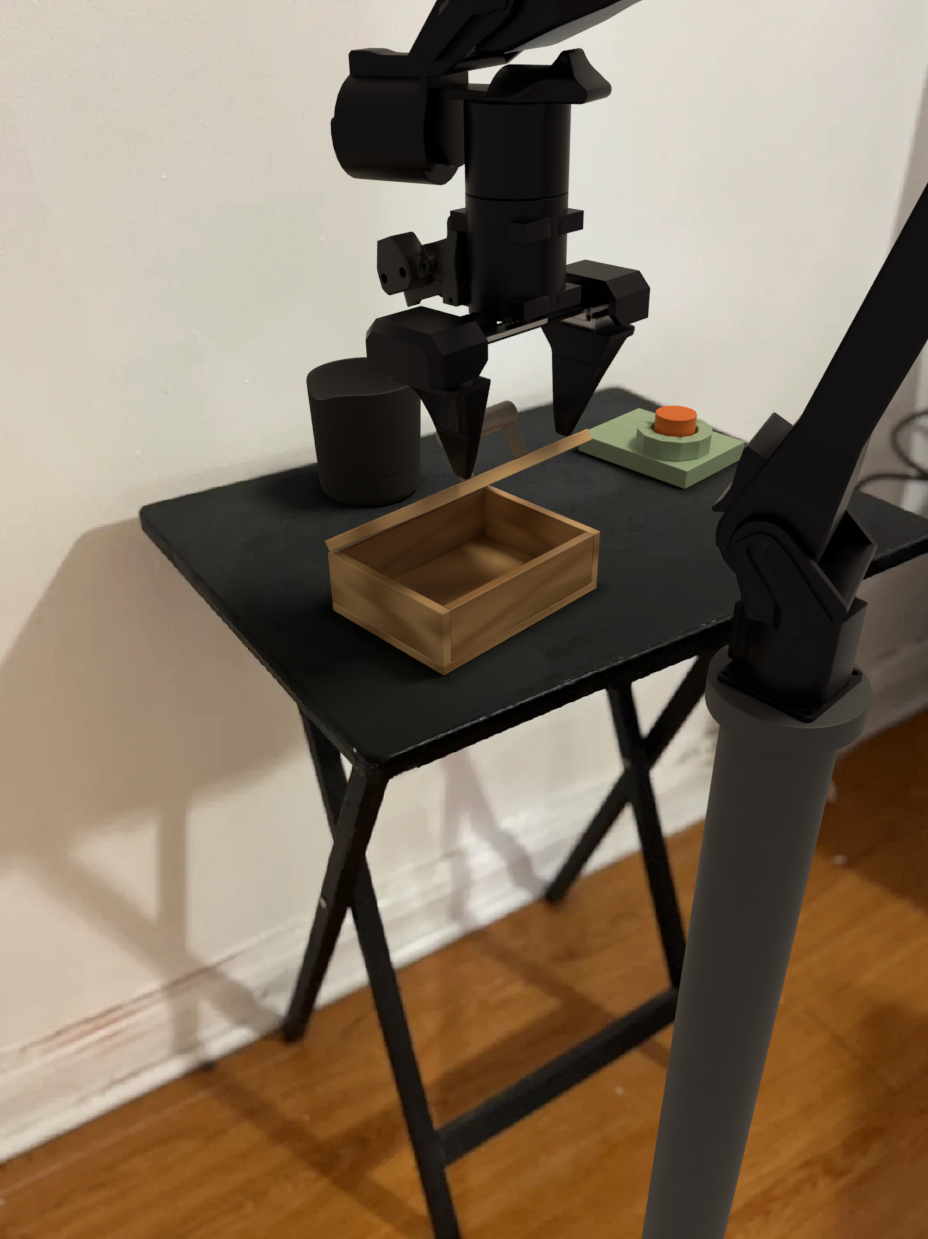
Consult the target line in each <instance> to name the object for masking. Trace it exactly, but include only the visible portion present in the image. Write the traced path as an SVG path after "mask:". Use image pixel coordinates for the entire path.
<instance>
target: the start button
mask: <svg viewBox="0 0 928 1239" xmlns="http://www.w3.org/2000/svg"><path fill="white" fill-rule="evenodd" d="M654 413H655V424H654V431H655V433H658V434H661V435H664V436H672V437H686V436H692V435H694V433H695V428H696V420H697V419H698V413H697V411H696V410H694V409H693V408H691V407H687V406H683V405H664V406H661V407H659V408H657V409H656V410H655V412H654Z"/></svg>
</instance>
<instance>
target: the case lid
mask: <svg viewBox="0 0 928 1239" xmlns="http://www.w3.org/2000/svg"><path fill="white" fill-rule="evenodd" d="M518 418H519V412H518V408H517V407H516V405H515V404H514V402H513V401H511V400H507V399H506V400H503V401H500V402H497V403H495V404H492V405H489V406H486V411H485V416H484V421H483V427H482V432H481V438H482V437H485V436H487V435H489V434H493V433H494V432H497V431H499V430H501V429H502V431H503V432H504V435H505V437H506V439H507V442H508V444H509V447H510V450H511V452H512V454H513V457H514V459H513V460H511V461H508V462H505V463H503V464H501V465H499V466H496V467H494V468H492V469H489V470H487V471H485V472H482V473H480V474H478V475H475V474H474V472H473V473H472V476H471V478H469V479H467V480H465V479H462V478H460V477H458V478H459V480H460V482H459V483H457V484H454V485H452V486H449V487H448V488H445V489H442V490H440V491H438V492H435V493H433V494H431V495H428V496H426V497H424V498H421V499H419V500H417V501H415V502H413V503H410V504H408V505H405V506H402V507H401V508H398V509H396V510H394V511H392V512H388V513H386V514H384V515H382V516H380V517H377V518H375V519H372V520H370V521H368V522H366V523H363V524H361V525H359V526H356V527H354V528H351V529H350V530H347V531H344V532H342V533H340V534H338V535H335V536H333V537H331V538H329V539H325V541H324V542H325V545H326V547H327V549H328V552H330V551H333V550H335V549H338V548H340V547H343V546H345V545H348V544H350V543H352V542H355V541H357V540H360V539H362V538H365V537H367V536H370V535H372V534H375V533H377V532H380V531H382V530H385V529H387V528H390V527H392V526H394V525H397V524H399V523H402V522H404V521H407V520H409V519H412V518H414V517H417V516H419V515H422V514H424V513H427V512H429V511H431V510H433V509H436V508H438V507H440V506H442V505H445V504H447V503H449V502H452V501H454V500H456V499H458V498H461V497H463V496H465V495H467V494H470V493H472V492H474V491H476V490H479V489H481V488H483V487H486V486H488V485H490V486H491V485H493V484H494V483H497V482H499V481H502V480H504V479H507V478H509V477H510V476H513V475H515V474H518V473H520V472H522V471H524V470H527V469H528V468H531V467H533V466H536V465H539V464H540V463H542V462H544V461H547V460H550V459H552V458H554V457H556V456H558V455H561V454H563V453H565V452H568V451H570V450H572V449H573V448H576V447H579V445H581V444H583V443H585V442H588V441H590V440H592V438H591V435H590V433H589V428H585V429H582V430H581V431H579V432H577V433H574V434H571V435H569V436H567V437H564V438H562V439H560V440H558V441H556V442H553V443H551V444H548V445H545V446H543V447H541V448H538V449H536V450H534V451H531V452H529V451H528V449H527V447H526V444H525V442H524V439H523V437H522V435H521V432H520V430H519V427H518V425H517V423H516V422H517V421H518ZM435 439H436V442H437V444H438V445H439V446H440V447H441V448H442V449H443V450H444V448H443V445H442V443H441V440H440V438H439V436H438V433H437V431H436V430H435Z"/></svg>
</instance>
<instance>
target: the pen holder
mask: <svg viewBox="0 0 928 1239" xmlns="http://www.w3.org/2000/svg"><path fill="white" fill-rule="evenodd" d="M305 383H306V390H307V397H308V405H309V412H310V413H309V414H310V420H311V421H310V422H311V428H312V435H313V442H314V449H315V457H316V462H317V469H318V474H319V475H318V477H319V482H320V487H321V489H322V491H323V493H325V495H327V496H328V498H330V499H332V500H333V501H335V502H337V503H340V504H343V505H348V506H355V507H378V506H385V505H389V504H393V503H397V502H399V501H402V500H405V499H406V498H408V497H409V496H411V495H412V494H413V493H414V492H415V491H416V490H417V488H418V487H419V485H420V482H421V456H422V455H421V454H422V450H421V448H422V445H421V443H422V441H421V440H422V439H421V438H422V437H421V436H422V434H421V433H422V430H421V429H422V426H421V425H422V415H421V414H422V400H421V399H420V397H419V396H418V394H417V393H416V392H415V391H414V390H413V389H412V388H411V387H410V386H408V385H405V384H402V383H399V382H396V381H393V380H391V379H390V378H389V376H388V375H385V374H382V373H379V372H376V371H373V370H370V369H367V356H359V357H358V356H357V357H349V358H341V359H336V360H332V361H329V362H326V363H323V364H321V365H318V366H316V367H313V369H311V370H310V371H309V372H308V373H307V375H306V379H305Z"/></svg>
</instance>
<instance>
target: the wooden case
mask: <svg viewBox="0 0 928 1239" xmlns="http://www.w3.org/2000/svg"><path fill="white" fill-rule="evenodd" d="M600 540H601V531H600V530H598V529H595V528H593V527H590V526H588V525H586V524H583V523H581V522H579V521H576V520H574V519H571V518H569V517H566V516H564V515H562V514H560V513H557V512H555V511H552V510H549V509H548V508H545V507H542V506H541V505H537V504H535V503H532V502H531V501H528V500H525V499H524V498H521V497H519V496H516V495H513V494H511V493H510V492H509V493H508V492H506V491H504V490H501V489H500V488H497V487H494V486H492V485H491V484H490V485H488V486H486V487H483V488H481V489H479V490H476V491H474V492H472V493H470V494H467V495H465V496H463V497H461V498H458V499H456V500H454V501H452V502H449V503H447V504H445V505H442V506H440V507H438V508H436V509H433V510H431V511H429V512H427V513H424V514H422V515H419V516H417V517H414V518H412V519H409V520H407V521H404V522H402V523H399V524H397V525H394V526H392V527H390V528H387V529H385V530H382V531H380V532H377V533H375V534H372V535H370V536H367V537H365V538H362V539H360V540H357V541H355V542H352V543H350V544H348V545H345V546H343V547H340V548H338V549H335V550H333V551H328V552H327V557H328V558H327V559H328V568H329V579H330V589H331V601H332V609H333V611H334V612H335V613H337V614H338V615H341V616H343V617H344V618H345V619H347V620H349V621H351V622H353V623H354V624H356V625H357V626H359V627H361V628H362V629H365V630H366V631H368V632H370V633H371V634H373V635H374V636H376V637H378V638H379V639H381V640H383V641H385V642H386V643H388V644H390V645H391V646H393V647H395V648H396V649H398V650H400V651H401V652H403V653H405V654H407V655H408V656H410V657H411V658H413V659H415V660H416V661H418V662H420V663H421V664H424V665H425V666H427V667H429V668H430V669H432V670H434V671H435V672H437V673H439V674H441V675H442V676H446V675H448V674H449V673H452V672H453V671H455V670H456V669H458V668H460V667H461V666H463V665H465V664H467V663H469V662H470V661H472V660H474V659H476V658H478V657H479V656H481V655H483V654H484V653H486V652H488V651H490V650H491V649H493V648H494V647H497V646H498V645H500V644H502V643H503V642H506V641H507V640H508V639H511V638H513V637H515V635H518V634H519V633H521V632H523V631H524V630H526V629H527V628H529V627H531V626H533V625H536V624H537V623H539V622H540V621H542V620H544V619H545V618H547V617H550V615H552V614H555V613H556V612H557V611H560V610H561V609H563V608H564V607H566V606H568V605H570V604H572V603H573V602H575V601H577V600H578V599H580V598H582V597H583V596H585V595H587V594H589V593H590V592H593V591H594V590H596V589H597V584H598V582H597V581H598V572H599V571H598V570H599V557H600V556H599V552H600Z"/></svg>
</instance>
